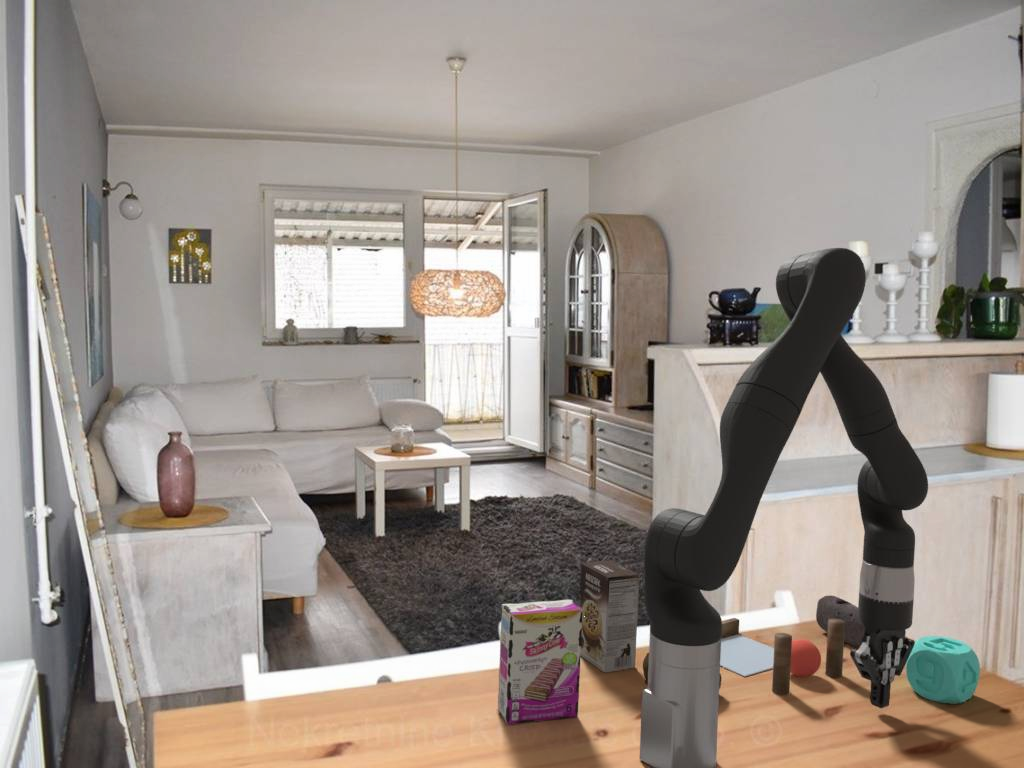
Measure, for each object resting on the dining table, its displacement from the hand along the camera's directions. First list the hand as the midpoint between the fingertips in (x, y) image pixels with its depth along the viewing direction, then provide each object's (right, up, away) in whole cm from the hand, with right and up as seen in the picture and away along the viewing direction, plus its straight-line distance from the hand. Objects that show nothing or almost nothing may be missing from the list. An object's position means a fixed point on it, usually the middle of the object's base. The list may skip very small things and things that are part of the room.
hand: (879, 705), depth 140 cm
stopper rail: (-20, +2, +29) cm, 36 cm away
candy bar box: (-51, -1, -3) cm, 51 cm away
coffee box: (-39, +1, +18) cm, 43 cm away
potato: (-29, -1, +4) cm, 29 cm away
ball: (-7, +3, +13) cm, 16 cm away
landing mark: (-15, +1, +22) cm, 27 cm away
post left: (-13, 0, +7) cm, 15 cm away
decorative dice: (+13, -1, +8) cm, 15 cm away
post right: (-2, 0, +14) cm, 15 cm away
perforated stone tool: (+6, +1, +30) cm, 30 cm away
